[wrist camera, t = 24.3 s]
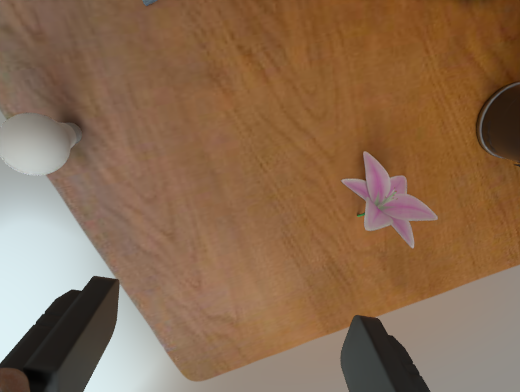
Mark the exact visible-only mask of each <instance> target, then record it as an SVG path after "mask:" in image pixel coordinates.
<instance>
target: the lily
mask: <svg viewBox="0 0 520 392" xmlns="http://www.w3.org/2000/svg"><path fill="white" fill-rule="evenodd" d="M363 156H364V163H365V172H366V181H364V180H360V179H343V180H341V181H342V183H343V184H345V185H346V186H347V187H348V188H350V189H351V190H352V191H354V192H355V193H356V194H357V195H359V196H360V197H361V198H363V199H364V200H365V201H366V210H365V213H363V214H359V215H357V216H358V217H360V216H363V215H365V219H364V227H365V229H366V230H368V231H373V230H377V229H380V228H383V227H386V226H389V225H392V226H393V228H394V229H395V230H396V231H397V232H398V233H399V234H400V236H401V237H402V238H403V239H404V240H405V241H406V242H407V243H408V245H409V246H410V247H411V248H414V238H413V233H412V228H411V226H410V223H409V221H422V220H437V219H438V217H437V215H436V214H435V213H434V212H433V211H432V210H431V209H430V208H429V207H428V206H426V205H425V204H424V203H423V202H421V201H420V200H418V199H417V198H415V197H414V196H411V195H409V194H407V181H406V178H405V177H404V176H394V177H391V178H390V177H389V175H388V173H387V171H386V170H385V169H384V168H383V166H382V165H381V164H380V163H379V162H378V161H377V160H376V159H375V158H374V157H373V156H371V155H370V154H369V153H367V152H365V151H364V152H363ZM408 220H409V221H408Z"/></svg>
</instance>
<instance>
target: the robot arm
mask: <svg viewBox="0 0 520 392" xmlns="http://www.w3.org/2000/svg"><path fill="white" fill-rule="evenodd" d="M477 137H478V141H479V143H480V145H481V146H482V148H483V149H484V150H485V151H486V152H488V153H489V154H491V155H493V156H496V157H499V158H504V159H508V160H512V161H515V162H518V163H520V82H515V83H512V84H509V85H507V86H505V87H503V88H501V89H500V90H498V91H497V92H496V93H494V94H493V95H492V96H491V97H490V98H489V100H488V101H487V102H486V103H485V105H484V106H483V108H482V110H481V112H480V115H479V118H478V121H477ZM513 165H516V166H519V167H520V165H517V164H513ZM118 298H119V280H118V279H112V278H105V277H98V276H93V277H92V278H91V280H90V281H89V282H88V284H87V285H86V286H85V287H84V289H83V290H82V291H79V290H70V291H69V292H67V293H65V294H63V295H62V296H60V297H58V298H57V299H55V301H54V302H53V303H52V304H51V305H50V307H49V308H48V309H47V310H46V311H45V314H42V316H41V317H40V318H39V319H38V320H37V321H36V324H35V325H33V326H32V327H31V328H30V330H29V331H28V332H27V333H26V334H25V335H24V336H23V338H22V339H21V340H20V341H19V342H18V344H17V345H16V346H15V347H14V348H13V349H12V351H11V352H10V353H9V354H8V355H7V356H6V357H5V359H4V360H3V361H2V362H1V363H0V392H83V391H84V389H85V387H86V385H87V383H88V381H89V380H90V378H91V376H92V374H93V372H94V370H95V368H96V366H97V364H98V362H99V360H100V358H101V356H102V354H103V353H104V351H105V349H106V347H107V345H108V343H109V341H110V339H111V337H112V334H113V332H114V329H115V325H116V321H117V311H118ZM341 368H342V371H343V374H344V377H345V380H346V383H347V386H348V389H349V392H430V390H429V388H428V387H427V385H426V383H425V382H424V380H423V379H422V376H420V375H419V371H418V370H417V368H416V366H415V365H414V364H413V361H412V359H411V358H410V356H409V354H408V353H407V351H406V349H405V348H404V347H403V346H402V345H401V344H400V343H399V342H398V341H397V340H396V339H395V338H394V337H393V336H390V335H388V334H387V332H386V330H385V328H384V327H383V325H382V323H381V321H380V320H379V319H378V318H373V317H366V316H360V315H356V316H354V318H353V320H352V322H351V325H350V328H349V330H348V333H347V336H346V339H345V341H344V344H343V347H342V351H341Z"/></svg>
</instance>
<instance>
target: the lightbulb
mask: <svg viewBox="0 0 520 392" xmlns="http://www.w3.org/2000/svg"><path fill="white" fill-rule="evenodd" d="M81 138H82V132H81V129H80V128H79V127H78V126H77V125H76V124H74V123H62V122H57V121H55V120H53V119H52V118H50V117H48V116H45V115H42V114H37V113H23V114H18V115H15V116H13V117H11V118H9V119H8V120H6V121H5V122H4V123H3V124H2V125H1V127H0V157H1V158H2V160H3V161H4V162H5V163H6V164H7V165H8V166H10V167H11V168H13V169H15V170H16V171H18V172H21V173H23V174H28V175H45V174H49V173H52V172H54V171H56V170H58V169H59V168H61V167H62V166H63V165H64V163H65V162H66V161H67V159H68V157H69V155H70V149H71V148H72V147H73V146H74V145H75V144H76V143H78V142H79V141H80V140H81Z"/></svg>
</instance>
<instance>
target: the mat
mask: <svg viewBox="0 0 520 392" xmlns="http://www.w3.org/2000/svg"><path fill="white" fill-rule="evenodd" d="M155 1H157V0H143V2H144V4H145V5H146V6H148V5H149V4H151V3H153V2H155Z"/></svg>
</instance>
